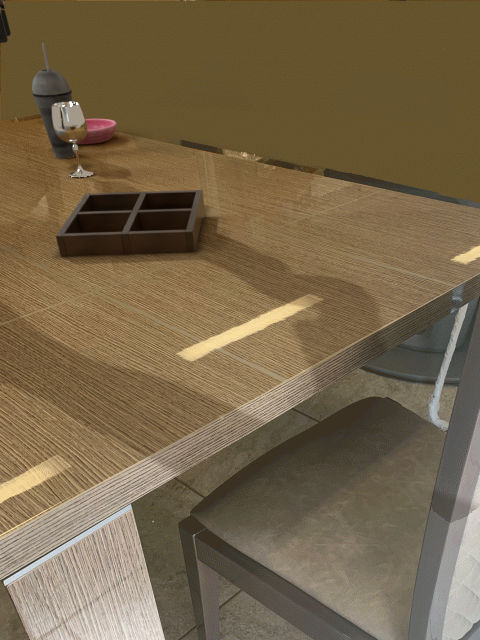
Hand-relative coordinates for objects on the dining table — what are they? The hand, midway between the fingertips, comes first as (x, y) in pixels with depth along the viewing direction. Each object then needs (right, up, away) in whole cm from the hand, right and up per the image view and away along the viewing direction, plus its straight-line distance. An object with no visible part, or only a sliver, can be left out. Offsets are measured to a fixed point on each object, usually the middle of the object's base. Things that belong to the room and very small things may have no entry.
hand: (2, 39), depth 105 cm
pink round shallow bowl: (+1, 0, +37) cm, 37 cm away
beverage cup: (0, -8, +26) cm, 27 cm away
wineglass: (+7, -16, +15) cm, 24 cm away
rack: (+26, -36, -11) cm, 46 cm away
